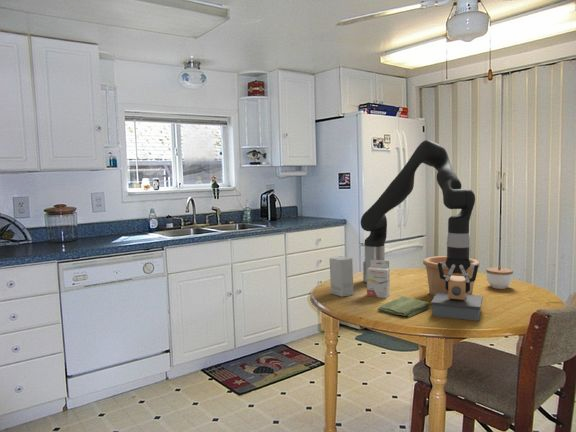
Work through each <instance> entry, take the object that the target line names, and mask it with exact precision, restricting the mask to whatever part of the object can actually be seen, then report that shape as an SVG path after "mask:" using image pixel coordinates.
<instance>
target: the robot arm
mask: <svg viewBox="0 0 576 432" xmlns="http://www.w3.org/2000/svg"><path fill="white" fill-rule="evenodd" d="M422 164H424V165H426V166H428V167H433V168H434V169H435V170H436V171H437V172H436V182H437V184H438V186H439V188H440V189H441V193H442V197H443V198H442V200H443V204H444V206H445V208H446V209H450V210H460V212H459V213H458V214H454V215H451V216H450V217H449V218H448V220H447V238H446V256H447V260H446V262H439V263H438V269H439V274H440V278H441V279H444V280H445V288H446V290H447V291H448V282H449V279H450V277H451V274H452V273H459V274H463V276H464V278H465V280H466V293H468V291H470V282H472V281H474V282H476V280H477V279H476V278H477V275H478V271H479V267H480V264H479V265H478V264H472V263H470V261H469V258H470V248H471V247H470V246H471V245H470V244H471V243H470V220H471V217H472V212H473V210H474V207H475V203H476V196H475V195H476V194H475V193H474V191H473V190H472V189H469V188H462V183H461V181H460V179H459V177H458V176H457V174H456V173H455V171H454V170H453V167H452V164H451V161H450V157H449V154H448V152H447V149H446V148H445V147H444V146H443V145H441V144H438V143H437V142H434V141H432V140H429V139H426V140H423V141H422V142H420V143H419V144H418V146H417V147H416V149H415V150H414V151H413V154H412V155H411V156H410V157H409V159H408V161H407V162H406V163H405V165H404V166H403V168H402V169H401V170H400V171H399V173H398V174H397V175H396V176H395V178H394V179H393V180H392V181H391V182H390V183H389V185H388V186H387V187H386V188H385V190H384V191H383V193H382V194H380V196H379V198H377V200H376V201H375V202H374V203H373V204H372V205H371V206H370V207H369V208H368V209H367V210H366V211H365V212H364V213H363V215H362V216H361V218H360V226H361V229H363V230H364V231H366V232H369V235H368V236H367V237H366V238H365V239H364V242H363V243H364V261H363V263H362V268H363V269H362V271H363V272H362V275H363V277H362V282H363V283H366V284H367V269H368V268H369V267H370V260H384V261H386V260H385V255H386V253H385V251H386V249H385V243H386V240H387V236H388V235H387V233H388V219H387V216H386V214H387V213H388V212H390V211H391V210H393V209H394V208H396V207H397V206H399V205H400V204H401V203H403V202H404V201H405V200H406V198H408V197H409V195H410V194H411V193H412V191H413V190H414V186H415V175H416V171H417V169H418V168H419V167H420V165H422ZM376 264H383V263H380V262H379V263H376ZM445 265H446V266H447V267H448V268H449V272H448V274H447V276H445V275H444V271H443V268H444V266H445ZM470 266H471V267H472V270H474V271H473V275H472V277H471V278H469V275H468V273H467V269H468V268H469V267H470ZM478 266H479V267H478Z"/></svg>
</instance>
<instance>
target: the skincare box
mask: <svg viewBox="0 0 576 432" xmlns="http://www.w3.org/2000/svg"><path fill="white" fill-rule="evenodd" d="M353 265H354V264H353V258H351V257H346V256H335V257H333V256H332V257H329V274H330V275H329V277H330V280H329V281H330V294H331V295H336V296H338V297H341V298H342V297H343V298H344V297H349V296H353V295H354V273H353V272H354V268H353V267H354V266H353Z"/></svg>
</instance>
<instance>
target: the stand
mask: <svg viewBox="0 0 576 432" xmlns="http://www.w3.org/2000/svg"><path fill="white" fill-rule="evenodd" d="M483 299H484V297H483V295H479V294H472V295H469V294H466V297H465V300H462V299H452V298H448V293H447V292H437V293H436V295H435V297H434V296H433V298H432V300H431V302H430V306H432V316H433V317H439V318H441V317H442V318H447V319H448V318H449V319H458V320H467V321H475V322H476V321H477V322H479V320H480V315H481V312H482V311H481V310H482V302H483Z"/></svg>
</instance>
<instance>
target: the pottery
mask: <svg viewBox="0 0 576 432" xmlns="http://www.w3.org/2000/svg"><path fill="white" fill-rule="evenodd" d="M446 260H447V255H438V256H437V255H435V256H428V257H426V258H424V259H423V261H422V264H423V265H424V266H425V269H426V276H427V277H426V278H427V283H428V284H427V285H428V291H429V295H430V296H432V297H433V298H434V297H435V295H436V293H437V292H447V293H448V291H447V290H446V288H445V280H444V279H441V278H440V274H439V269H438V263H439V262H446ZM469 261H470V263H472V264H478V265H479V266H478V268H479V267H480V260H477V259H474V258H471V257H469ZM443 271H444V275H445V276H447V274H448V272H449V268H448V267H447V266H446V265H445V266H444V268H443ZM473 271H474V270H472V267H471V266H470V267H469V268H468V269H467V273H468V275H469V278H471V277H472V275H473ZM451 275H452V276H463V274H459V273H452V274H451ZM474 284H475V281H472V282H470V291H468V293H467V294H469V295H473V293H474V292H473V290H474V286H475V285H474Z"/></svg>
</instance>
